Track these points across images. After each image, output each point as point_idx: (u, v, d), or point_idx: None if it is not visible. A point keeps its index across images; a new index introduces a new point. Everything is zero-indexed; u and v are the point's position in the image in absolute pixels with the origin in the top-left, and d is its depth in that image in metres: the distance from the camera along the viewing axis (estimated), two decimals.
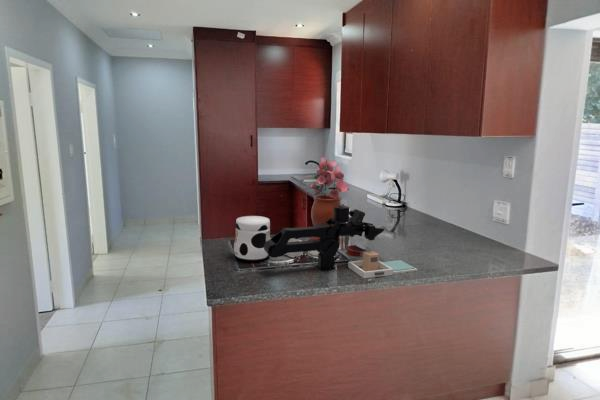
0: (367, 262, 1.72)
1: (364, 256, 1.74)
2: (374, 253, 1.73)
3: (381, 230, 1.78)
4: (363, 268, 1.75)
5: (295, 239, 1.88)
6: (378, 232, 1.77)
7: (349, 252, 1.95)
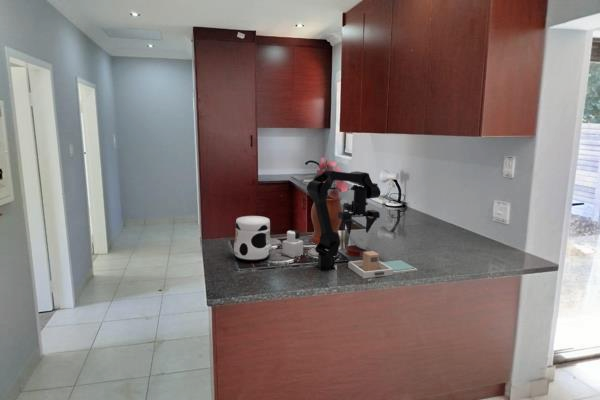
0: (367, 262, 1.72)
1: (364, 256, 1.74)
2: (374, 253, 1.73)
3: None
4: (363, 268, 1.75)
5: (295, 239, 1.88)
6: None
7: (349, 252, 1.95)
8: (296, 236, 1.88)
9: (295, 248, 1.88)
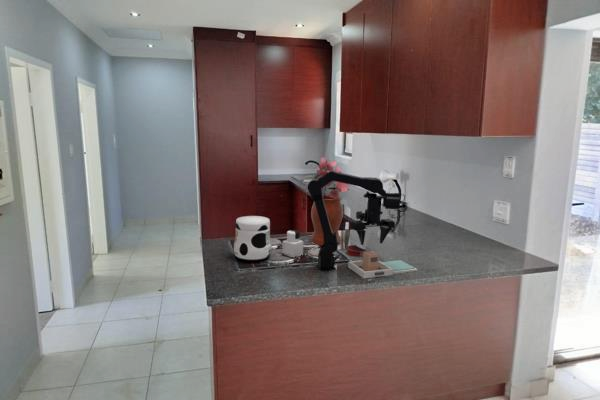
0: (367, 262, 1.72)
1: (364, 256, 1.74)
2: (374, 253, 1.73)
3: None
4: (363, 268, 1.75)
5: (295, 239, 1.88)
6: None
7: (349, 252, 1.95)
8: (296, 236, 1.88)
9: (295, 248, 1.88)
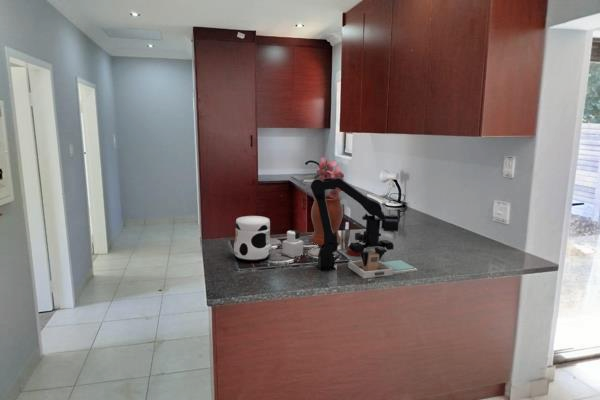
0: (367, 262, 1.72)
1: None
2: (374, 253, 1.73)
3: None
4: (363, 268, 1.75)
5: (295, 239, 1.88)
6: None
7: (349, 252, 1.95)
8: (296, 236, 1.88)
9: (295, 248, 1.88)
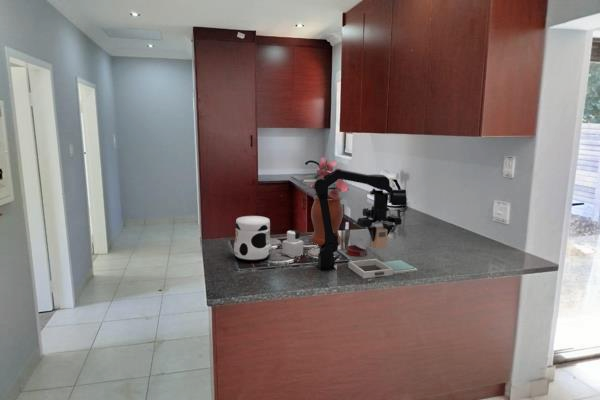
0: (375, 237, 1.71)
1: None
2: (382, 228, 1.72)
3: None
4: (371, 244, 1.74)
5: (295, 239, 1.88)
6: None
7: (349, 252, 1.95)
8: (296, 236, 1.88)
9: (295, 248, 1.88)
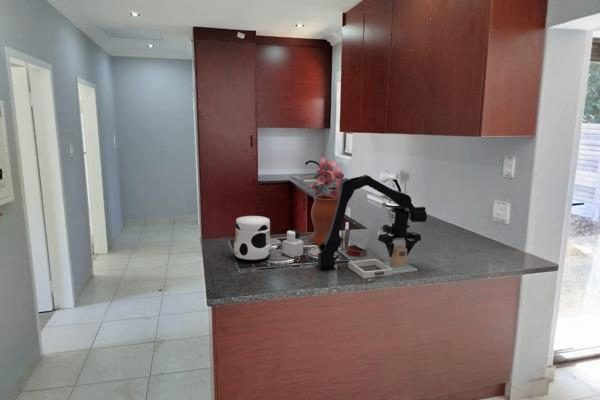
0: (395, 256, 1.77)
1: None
2: (402, 247, 1.78)
3: None
4: (391, 262, 1.80)
5: (295, 239, 1.88)
6: None
7: (349, 252, 1.95)
8: (296, 236, 1.88)
9: (295, 248, 1.88)
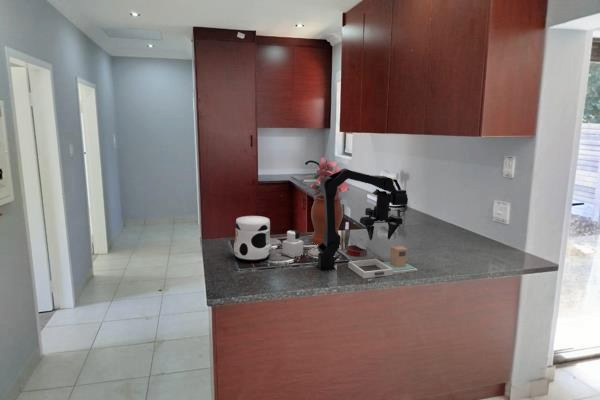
0: (395, 256, 1.77)
1: (392, 250, 1.79)
2: (402, 247, 1.78)
3: None
4: (391, 262, 1.80)
5: (295, 239, 1.88)
6: None
7: (349, 252, 1.95)
8: (296, 236, 1.88)
9: (295, 248, 1.88)
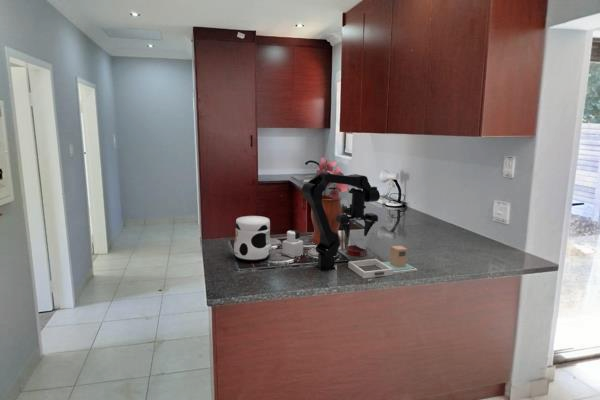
0: (395, 256, 1.77)
1: (392, 250, 1.79)
2: (402, 247, 1.78)
3: None
4: (391, 262, 1.80)
5: (295, 239, 1.88)
6: None
7: (349, 252, 1.95)
8: (296, 236, 1.88)
9: (295, 248, 1.88)
